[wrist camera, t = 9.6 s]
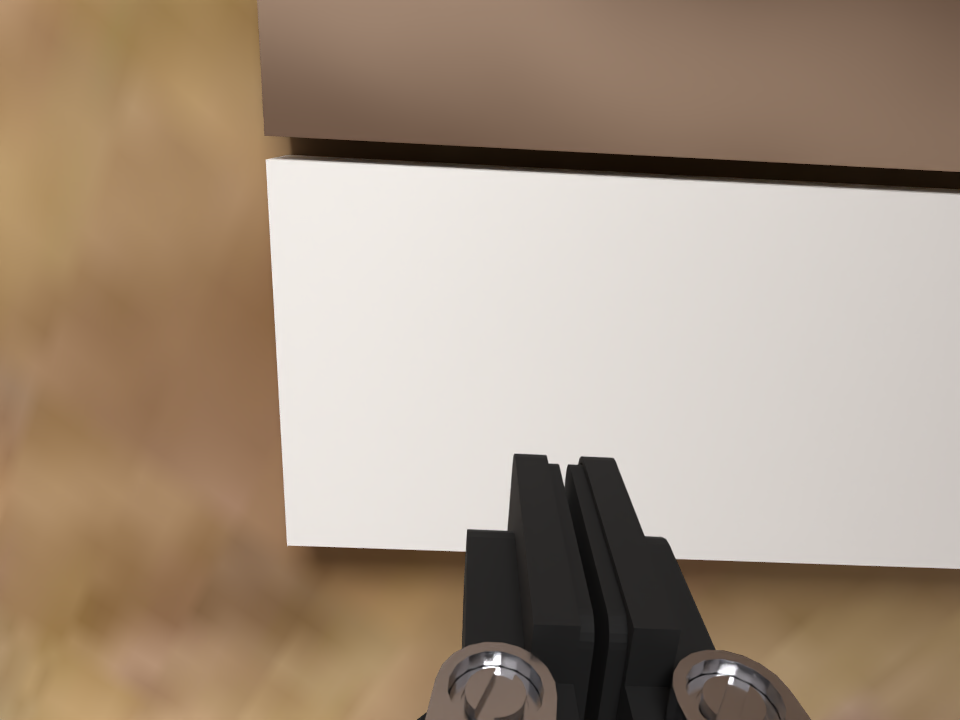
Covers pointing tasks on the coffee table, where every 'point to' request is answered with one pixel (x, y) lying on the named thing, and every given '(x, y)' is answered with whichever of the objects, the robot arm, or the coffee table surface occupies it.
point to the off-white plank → (619, 355)
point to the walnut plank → (624, 77)
